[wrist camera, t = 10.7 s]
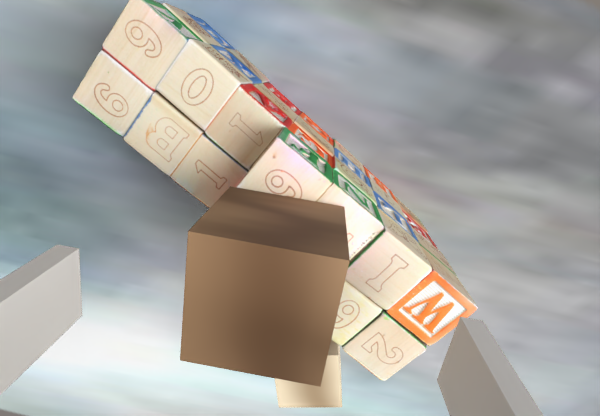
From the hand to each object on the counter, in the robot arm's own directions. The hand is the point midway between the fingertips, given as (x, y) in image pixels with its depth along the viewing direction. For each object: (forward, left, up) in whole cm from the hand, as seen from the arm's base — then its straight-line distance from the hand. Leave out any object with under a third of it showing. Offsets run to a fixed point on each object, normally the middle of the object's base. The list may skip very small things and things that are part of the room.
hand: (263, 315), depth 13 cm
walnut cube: (0, 0, -4) cm, 4 cm away
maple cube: (+3, -14, -17) cm, 22 cm away
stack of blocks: (-1, +2, -17) cm, 17 cm away
